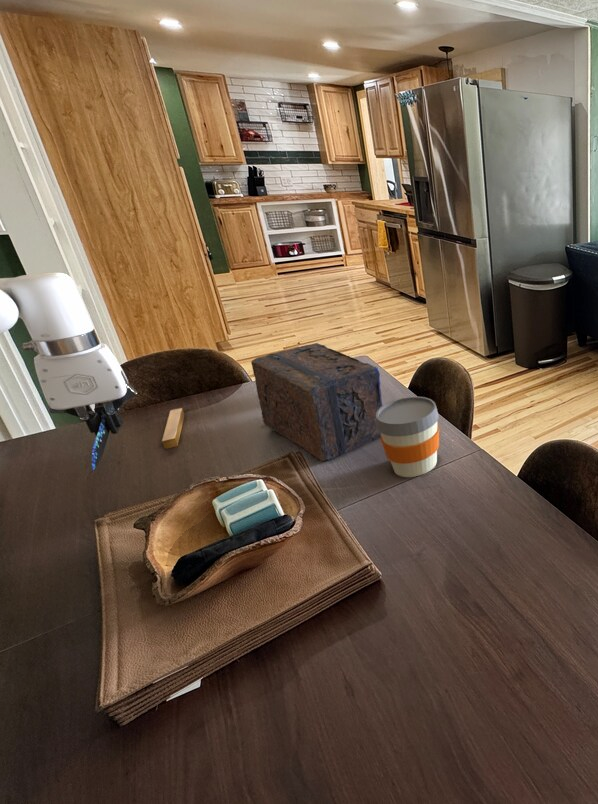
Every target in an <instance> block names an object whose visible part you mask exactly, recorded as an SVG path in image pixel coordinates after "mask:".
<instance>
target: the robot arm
mask: <svg viewBox="0 0 598 804" xmlns="http://www.w3.org/2000/svg"><path fill="white" fill-rule="evenodd" d="M18 319H21V320H22V321H23V324H24V325H25V327H26V329H27V331H28V333H29V335H30V338H31V340H30V341H28V342H23V343H22V348H23V350H24V351H34V352H35V353H36V354H37V355H36V356H34V357H33V363H34V368H35V373H36V375H37V379H38V382H39V386H40V388H41V391H42V393H43V396H44V399H45V401H46V404H47V405H48V413H50V414H63V415H64V414H66V415H70V416H74V417H77V418H79V419H80V420H82V421H84V422H85V423H86V425H87V428H88V430H89V432H90V433H91V434H93V433H94V435H95V437H96V436H97V434H98V431H99V428H100V424H101V418H100V416H99V414H98V413H97V412H95V411H94V409H93V408H92V406H91V405H95V404H102V406H103V405H104V407H105V410H106V411H105V413H106V415H105V420H106V422H107V424H108V427H109V429H110V434H112V435H115V434H118V433H119V431H120V429H121V427H122V426H123V424H122V421H123V420H122V421H121V419H122V418H121V419H120V416H121V415H120V416H119V414H118V412H117V410H118V408H119V409H120V407H121V406H122V405H123V404H124V403H127V402H128V401H130V400H132V399H134V398H136V397H137V395H138V394H139V393H138V392H139V391H137V390H136V389H135V388H134V387H133V386H132V385H131V384H130V383H129V380H128V377H127V376H126V373H125V371H124V369H123V368H122V366H121V365H120V362H119V361H118V360H117V358H116V356H115V354H114V353H113V352H112V351H111V349H110V347H108V345H107V344H106V343H105V342H104V343H101V342H100V339H99V337H98V334H97V332H96V330H95V328H94V325H93V323H92V320H91V318H90V316H89V313H88V311H87V308H86V307H85V304H84V302H83V299H82V297H81V294H80V292H79V290H78V288H77V285H76V283H75V281H74V279H73V278H72V277H71V276H70V275H68V274H66V273H63V272H55V271H54V272H38V273H36V272H35V273H29V274H23V275H18V276H15V277H2V278H1V277H0V334H2V333H5V332H7V331H9V330H10V329H11V328H13V327H14V326H15V325H16V324H17V322H18Z"/></svg>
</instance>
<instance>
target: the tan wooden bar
mask: <svg viewBox="0 0 598 804" xmlns="http://www.w3.org/2000/svg"><path fill="white" fill-rule="evenodd" d="M184 420H185V412H184V409H183V407H179V408H175V409H174V408H173V409H170V411H169V414H168V417H167V421H166V425H165V429H164V431H163V432H164V433H163V435H162V439H161V443H162V445H163V448H164V450H167V449H171V448H176V447H179V443H180V438H181V434H182V429H183V423H184Z"/></svg>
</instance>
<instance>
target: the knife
mask: <svg viewBox="0 0 598 804" xmlns="http://www.w3.org/2000/svg"><path fill="white" fill-rule="evenodd" d="M93 411H94V412H97V413H98V414H99V416H100V418H101V424H100V428H99V431H98V434H97V436H96V435H95V438H94V442H93V445H92V451H91V468H92V470H93V471H95V470H96V468H97V467H98V466H99V463H100V462H101V459H102V457H103V454H104V451H105V448H106V445H107V442H108V439H109V435H110V433H111V431H110V429H109V427H108V424H107V422H106V420H105V415H106V413H105V411H106V410H105V407H104V405H103V404H102V405H99V406H95V407H94V409H93ZM117 412H118V414H119V416H120V419H121V421H122V425H123V424H124V422H123V419H122V416H121V413H120V407H119V408H118V410H117Z"/></svg>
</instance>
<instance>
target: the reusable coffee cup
mask: <svg viewBox="0 0 598 804" xmlns="http://www.w3.org/2000/svg"><path fill="white" fill-rule="evenodd" d="M438 420H439V412H438V408H437V405H436V402H435V401H434V400H433V399H431V398H428V397H425V396H405V397H401V398H397V399H393V400H391V401H388V402H386V403H385V404H382V407H380V408H379V409H378V410H377V412H376V426H377V430H378V431H379V432H380V434H381V436H380V437H379V438H380V439H379V440H380V443H381V445H382V448H383V451H384V453H385V456H386V458H387V459H388V461H390V464H391V466H392V469H393V471H394V473H395V474H396V475H397V476H399V477H402V478H413V477H419V476H423V475H425V474H427V473H429V472H430V471H432V470H433V469H434V468H435V467H436V465H437V463H438V449H439V447H440V427H439V424H438Z"/></svg>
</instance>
